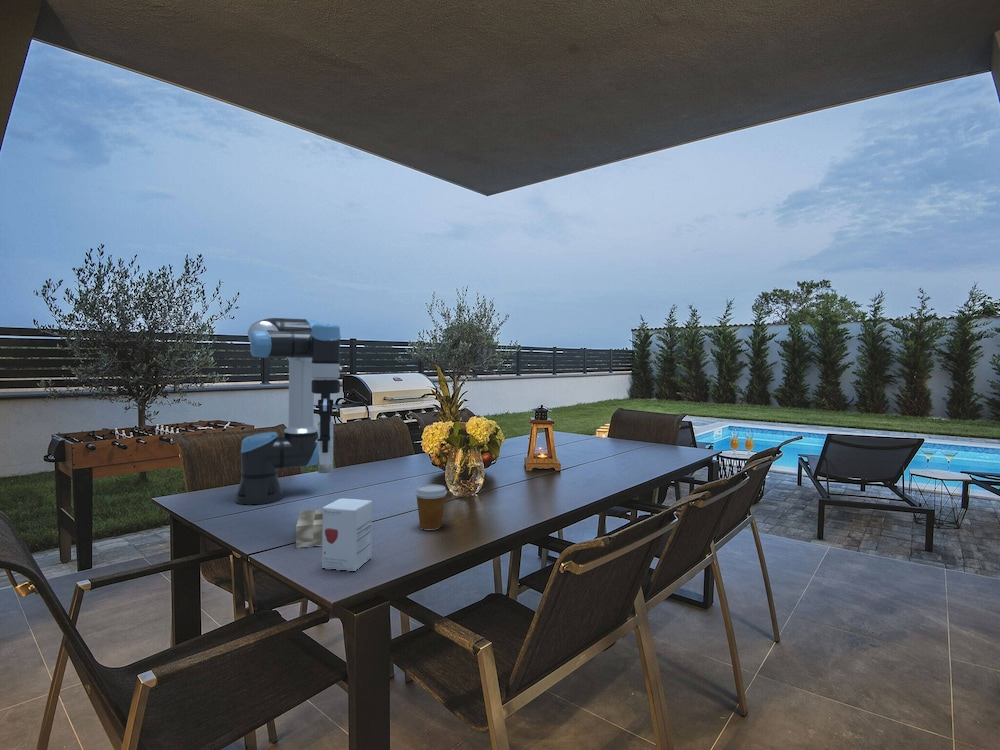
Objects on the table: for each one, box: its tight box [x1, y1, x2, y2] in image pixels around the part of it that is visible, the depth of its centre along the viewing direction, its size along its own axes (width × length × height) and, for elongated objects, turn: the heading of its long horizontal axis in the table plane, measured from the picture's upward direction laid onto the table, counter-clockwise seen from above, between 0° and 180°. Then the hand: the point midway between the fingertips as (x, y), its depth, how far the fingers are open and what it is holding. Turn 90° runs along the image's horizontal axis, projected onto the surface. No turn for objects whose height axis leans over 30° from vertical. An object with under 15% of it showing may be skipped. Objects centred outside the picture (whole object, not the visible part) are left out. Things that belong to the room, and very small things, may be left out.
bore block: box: [295, 509, 323, 548], centre depth 143 cm, size 14×14×6 cm
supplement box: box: [321, 497, 373, 572], centre depth 124 cm, size 9×9×15 cm
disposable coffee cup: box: [414, 484, 448, 530], centre depth 152 cm, size 10×10×12 cm
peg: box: [317, 420, 334, 474], centre depth 142 cm, size 4×4×14 cm
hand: (325, 462), depth 142 cm, fingers closed on peg, 4 cm apart
